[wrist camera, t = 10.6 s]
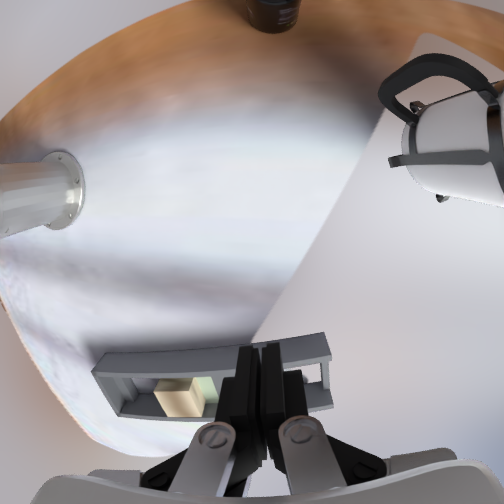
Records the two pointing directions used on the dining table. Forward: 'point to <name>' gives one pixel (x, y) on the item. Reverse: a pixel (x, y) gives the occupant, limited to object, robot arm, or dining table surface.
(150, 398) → the trap box
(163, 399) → the beech block
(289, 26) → the supplement bottle
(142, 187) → the dining table surface
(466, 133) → the coffee press
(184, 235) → the dining table surface
